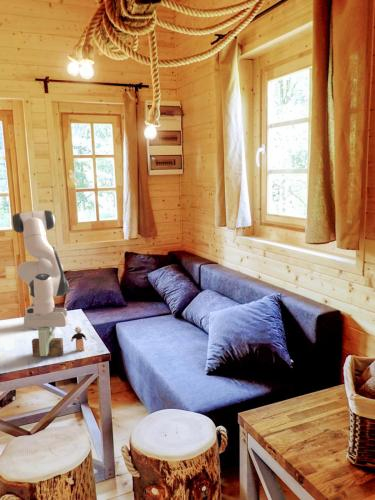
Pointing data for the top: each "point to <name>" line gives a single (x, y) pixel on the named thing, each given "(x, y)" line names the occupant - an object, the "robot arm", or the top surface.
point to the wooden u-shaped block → (54, 349)
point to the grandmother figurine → (79, 339)
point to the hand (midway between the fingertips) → (46, 335)
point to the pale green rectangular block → (45, 340)
